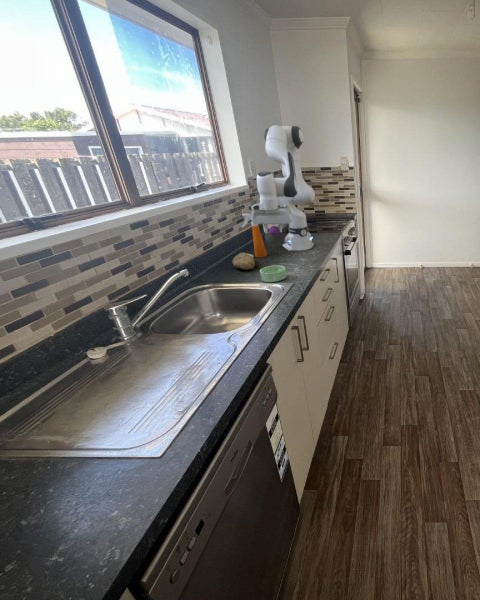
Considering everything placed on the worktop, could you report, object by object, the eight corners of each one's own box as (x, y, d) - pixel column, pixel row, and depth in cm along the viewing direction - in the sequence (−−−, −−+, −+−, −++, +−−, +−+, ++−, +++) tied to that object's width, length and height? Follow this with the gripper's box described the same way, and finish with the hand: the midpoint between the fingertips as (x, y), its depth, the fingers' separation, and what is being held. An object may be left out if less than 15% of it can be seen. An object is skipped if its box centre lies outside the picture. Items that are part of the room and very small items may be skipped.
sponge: (237, 264, 192) (225, 269, 173) (237, 251, 190) (226, 254, 171) (260, 267, 195) (252, 271, 176) (261, 253, 193) (253, 257, 174)
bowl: (257, 278, 168) (255, 269, 166) (279, 272, 175) (278, 263, 173) (268, 285, 160) (266, 275, 158) (291, 278, 168) (289, 269, 165)
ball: (268, 235, 175) (267, 226, 173) (277, 234, 179) (276, 224, 177) (272, 237, 172) (271, 227, 170) (281, 235, 175) (280, 226, 173)
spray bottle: (247, 256, 202) (238, 213, 191) (265, 253, 207) (257, 211, 196) (250, 259, 196) (240, 215, 185) (268, 256, 202) (260, 212, 190)
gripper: (291, 204, 172) (295, 230, 177) (253, 204, 172) (258, 231, 178) (288, 206, 166) (292, 233, 172) (248, 206, 166) (253, 233, 172)
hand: (274, 232), depth 175 cm, fingers closed on ball, 5 cm apart
